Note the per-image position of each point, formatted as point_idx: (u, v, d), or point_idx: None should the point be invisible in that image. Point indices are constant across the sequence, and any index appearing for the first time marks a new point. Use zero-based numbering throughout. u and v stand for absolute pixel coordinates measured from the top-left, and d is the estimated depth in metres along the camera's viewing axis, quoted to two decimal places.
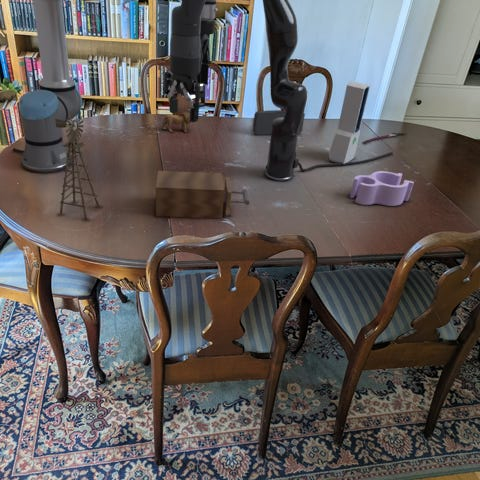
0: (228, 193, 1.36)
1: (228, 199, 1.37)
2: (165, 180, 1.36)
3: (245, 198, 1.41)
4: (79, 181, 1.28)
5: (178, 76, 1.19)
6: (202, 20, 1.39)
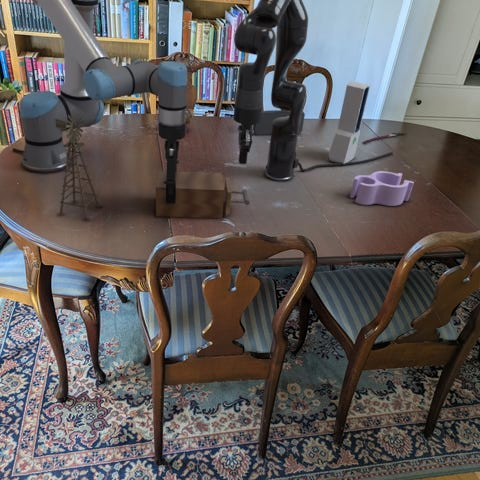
0: (228, 193, 1.36)
1: (228, 199, 1.37)
2: (165, 180, 1.36)
3: (245, 198, 1.41)
4: (79, 181, 1.28)
5: None
6: (173, 126, 1.25)
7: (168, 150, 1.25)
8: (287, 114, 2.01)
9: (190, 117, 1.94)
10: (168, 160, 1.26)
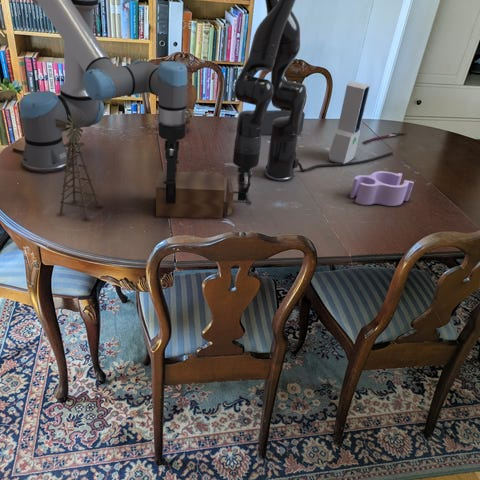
0: (230, 193, 1.36)
1: (230, 199, 1.37)
2: (165, 180, 1.36)
3: (247, 198, 1.41)
4: (79, 181, 1.28)
5: None
6: (173, 126, 1.25)
7: (168, 150, 1.25)
8: (287, 114, 2.01)
9: (190, 117, 1.94)
10: (168, 160, 1.26)
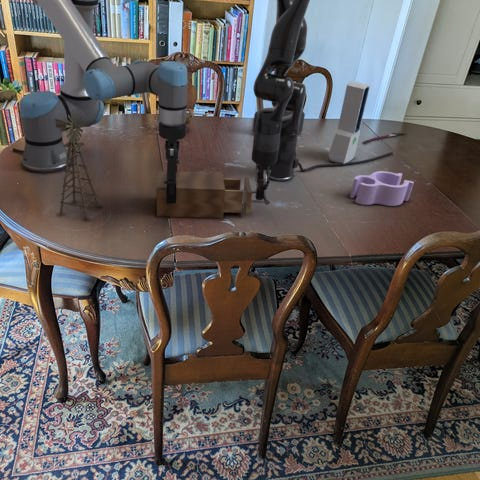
0: (248, 193, 1.36)
1: (248, 199, 1.38)
2: (166, 180, 1.36)
3: (265, 198, 1.41)
4: (79, 181, 1.28)
5: None
6: (174, 126, 1.25)
7: (168, 150, 1.25)
8: (287, 114, 2.01)
9: (190, 117, 1.94)
10: (168, 160, 1.26)
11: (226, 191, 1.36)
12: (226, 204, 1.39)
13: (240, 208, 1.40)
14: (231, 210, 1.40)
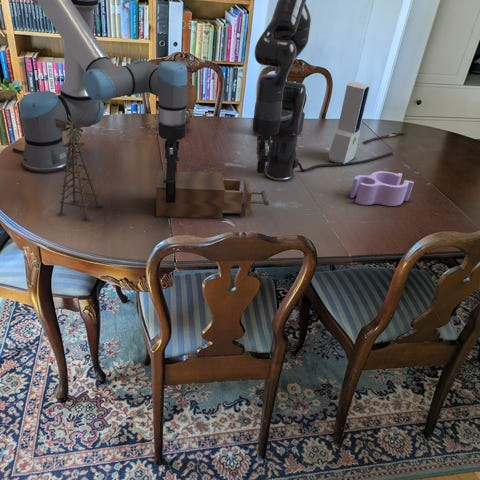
0: (248, 194, 1.37)
1: (248, 200, 1.38)
2: None
3: (264, 199, 1.41)
4: (79, 181, 1.28)
5: None
6: (173, 126, 1.25)
7: (168, 149, 1.25)
8: (287, 114, 2.01)
9: (190, 117, 1.94)
10: (168, 159, 1.26)
11: (226, 192, 1.36)
12: (225, 205, 1.39)
13: (240, 209, 1.40)
14: (231, 211, 1.40)
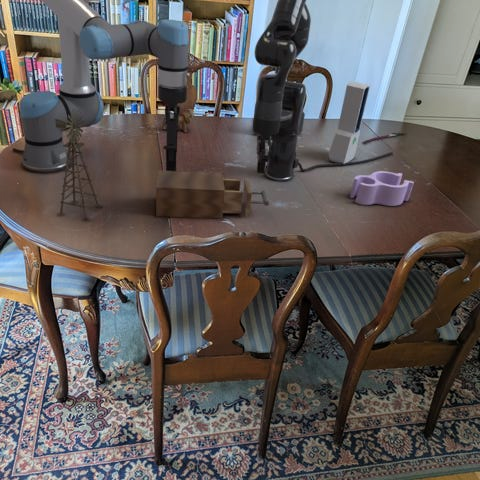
0: (248, 194, 1.37)
1: (248, 200, 1.38)
2: (165, 180, 1.36)
3: (264, 199, 1.41)
4: (79, 181, 1.28)
5: None
6: (174, 89, 1.20)
7: (168, 112, 1.20)
8: (287, 114, 2.01)
9: (190, 117, 1.94)
10: (168, 123, 1.20)
11: (226, 192, 1.36)
12: (225, 205, 1.39)
13: (240, 209, 1.40)
14: (231, 211, 1.40)
